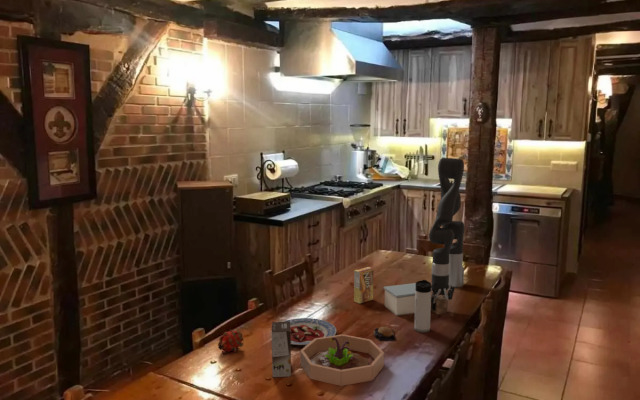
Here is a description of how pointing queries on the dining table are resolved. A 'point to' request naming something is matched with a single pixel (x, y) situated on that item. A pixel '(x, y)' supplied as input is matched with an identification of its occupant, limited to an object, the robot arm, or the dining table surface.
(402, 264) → the dining table surface
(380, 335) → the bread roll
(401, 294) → the lid
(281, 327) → the coffee box
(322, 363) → the plant
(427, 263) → the dining table surface
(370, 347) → the brown shallow octagonal piece
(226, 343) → the dragon fruit
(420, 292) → the travel mug
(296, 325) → the ceramic plate
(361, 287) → the candy box
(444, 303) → the walnut block
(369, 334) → the dining table surface
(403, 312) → the chest
